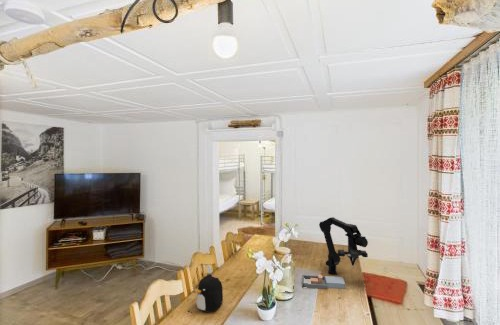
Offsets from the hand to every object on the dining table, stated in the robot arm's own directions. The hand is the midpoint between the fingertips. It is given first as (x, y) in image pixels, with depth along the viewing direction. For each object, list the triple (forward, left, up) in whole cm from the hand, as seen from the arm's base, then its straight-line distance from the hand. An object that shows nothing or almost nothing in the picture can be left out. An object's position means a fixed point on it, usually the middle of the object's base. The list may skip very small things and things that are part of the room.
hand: (352, 265), depth 178 cm
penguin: (+42, -90, -12) cm, 100 cm away
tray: (+5, -27, -12) cm, 30 cm away
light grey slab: (+5, -13, -12) cm, 18 cm away
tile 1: (+5, -27, -9) cm, 29 cm away
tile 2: (+5, -21, -9) cm, 24 cm away
